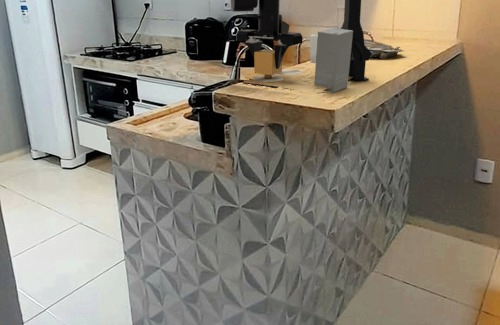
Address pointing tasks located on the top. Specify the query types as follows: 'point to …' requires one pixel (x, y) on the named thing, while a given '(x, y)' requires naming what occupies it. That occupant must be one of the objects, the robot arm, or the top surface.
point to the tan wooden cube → (265, 62)
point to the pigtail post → (267, 76)
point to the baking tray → (381, 49)
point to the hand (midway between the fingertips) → (268, 67)
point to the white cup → (313, 47)
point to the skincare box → (333, 59)
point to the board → (274, 77)
